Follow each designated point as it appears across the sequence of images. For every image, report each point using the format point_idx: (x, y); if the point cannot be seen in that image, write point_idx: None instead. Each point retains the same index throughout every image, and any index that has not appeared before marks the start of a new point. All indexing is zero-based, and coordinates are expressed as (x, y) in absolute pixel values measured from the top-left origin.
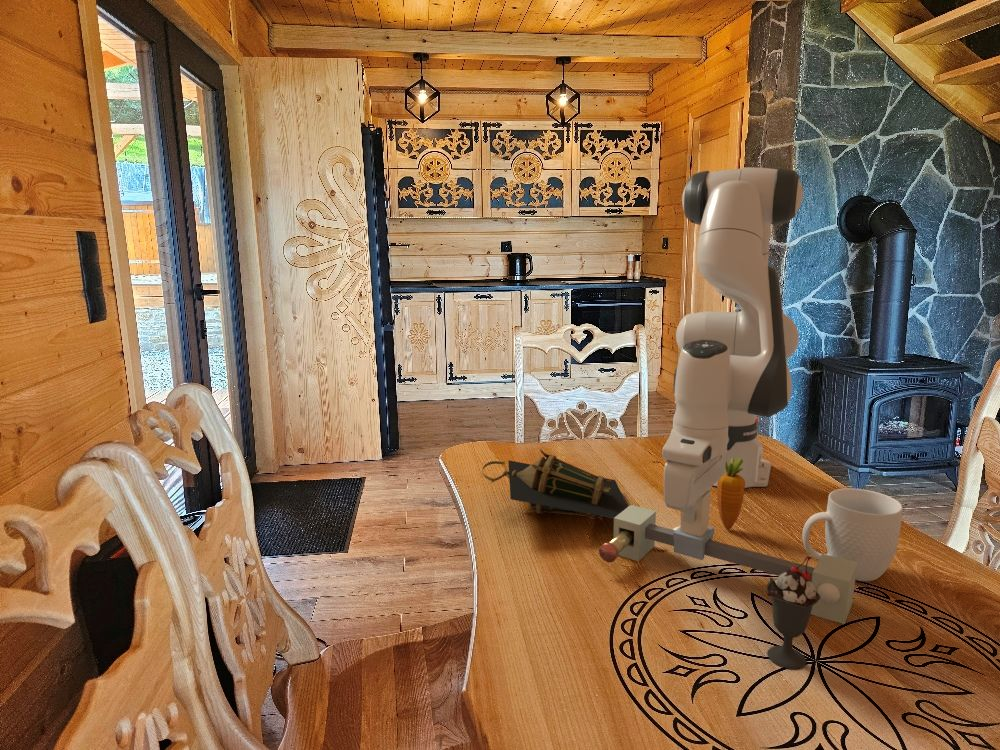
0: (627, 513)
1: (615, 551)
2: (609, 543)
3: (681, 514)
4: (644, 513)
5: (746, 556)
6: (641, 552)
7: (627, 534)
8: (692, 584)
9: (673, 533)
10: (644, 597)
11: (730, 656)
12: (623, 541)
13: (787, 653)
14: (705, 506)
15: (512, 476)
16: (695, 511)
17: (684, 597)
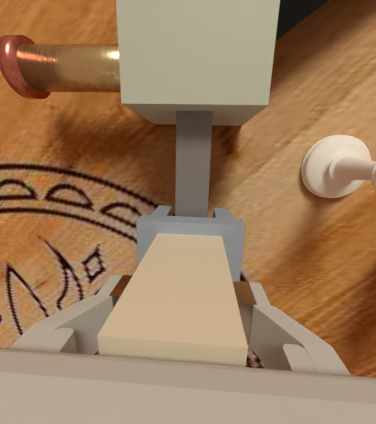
0: (187, 6)
1: (17, 91)
2: (6, 58)
3: (141, 261)
4: (223, 73)
5: None
6: (165, 122)
7: (118, 74)
8: (136, 243)
9: (186, 199)
10: (45, 189)
11: (6, 326)
12: (81, 83)
13: None
14: None
15: None
16: None
17: (89, 244)
